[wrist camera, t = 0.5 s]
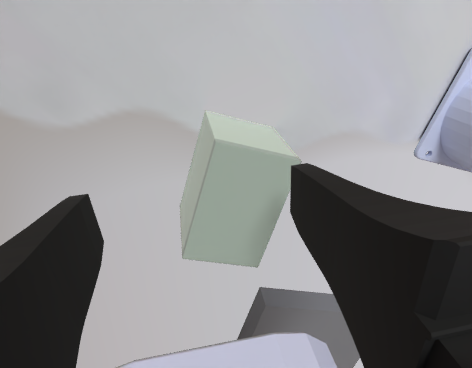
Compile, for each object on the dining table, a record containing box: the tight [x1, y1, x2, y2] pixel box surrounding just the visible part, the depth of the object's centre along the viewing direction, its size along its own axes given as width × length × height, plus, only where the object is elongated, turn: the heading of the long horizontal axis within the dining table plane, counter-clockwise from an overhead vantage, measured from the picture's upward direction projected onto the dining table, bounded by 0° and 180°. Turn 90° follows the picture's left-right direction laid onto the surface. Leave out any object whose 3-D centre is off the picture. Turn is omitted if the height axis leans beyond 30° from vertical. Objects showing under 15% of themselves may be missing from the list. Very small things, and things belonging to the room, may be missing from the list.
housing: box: [180, 110, 302, 267], centre depth 20 cm, size 4×7×6 cm, turn 163°
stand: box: [237, 287, 360, 368], centre depth 31 cm, size 12×12×2 cm
